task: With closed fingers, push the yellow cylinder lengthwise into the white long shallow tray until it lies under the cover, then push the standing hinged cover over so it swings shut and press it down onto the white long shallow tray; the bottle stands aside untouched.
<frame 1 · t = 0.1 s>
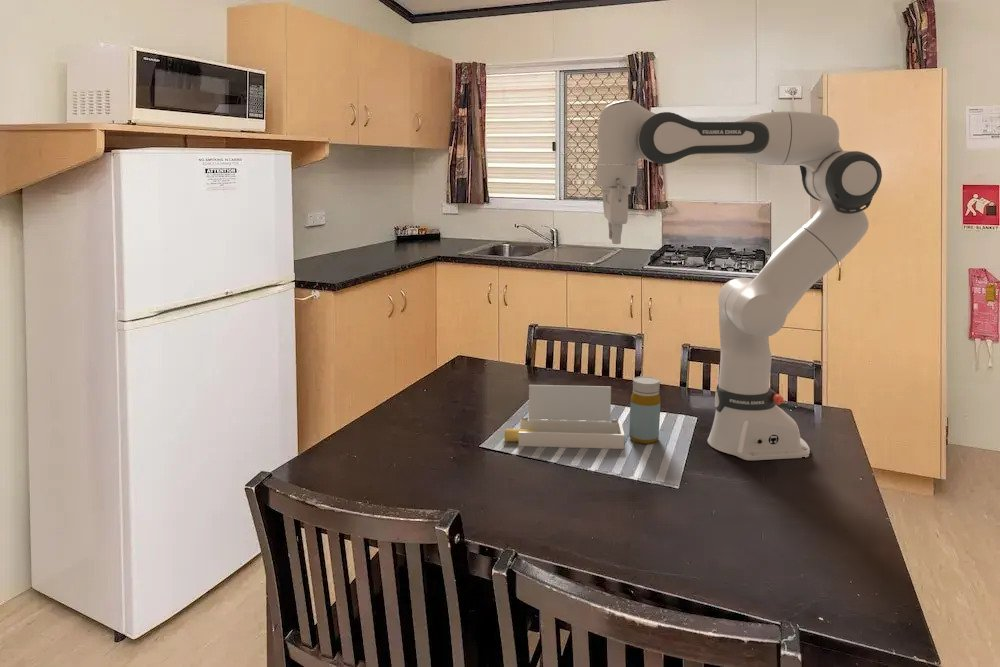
hand: (614, 241, 157), 48 cm above the table, fingers open, 8 cm apart
cover: (569, 402, 173), point 8 cm above the table, hinge at 100.0°
bottle: (643, 439, 170), on the table
white long shallow tray: (569, 440, 169), on the table
yellow cylinder: (519, 441, 169), on the table
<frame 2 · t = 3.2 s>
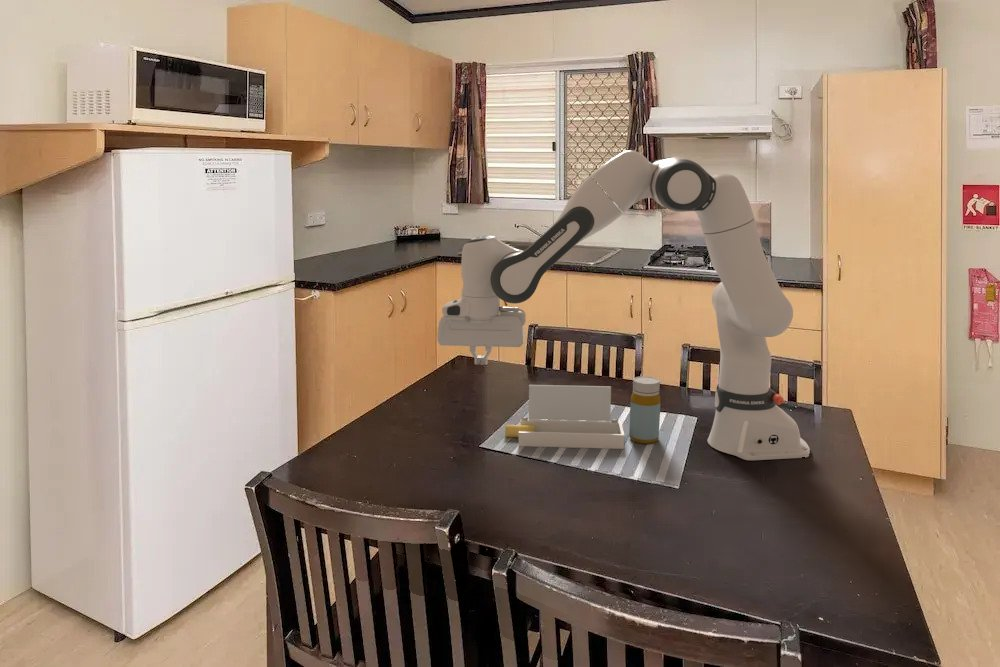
hand: (481, 363, 165), 19 cm above the table, fingers closed
yellow cylinder: (519, 430, 170), point 2 cm above the table, tilted 116°
everything else where it was.
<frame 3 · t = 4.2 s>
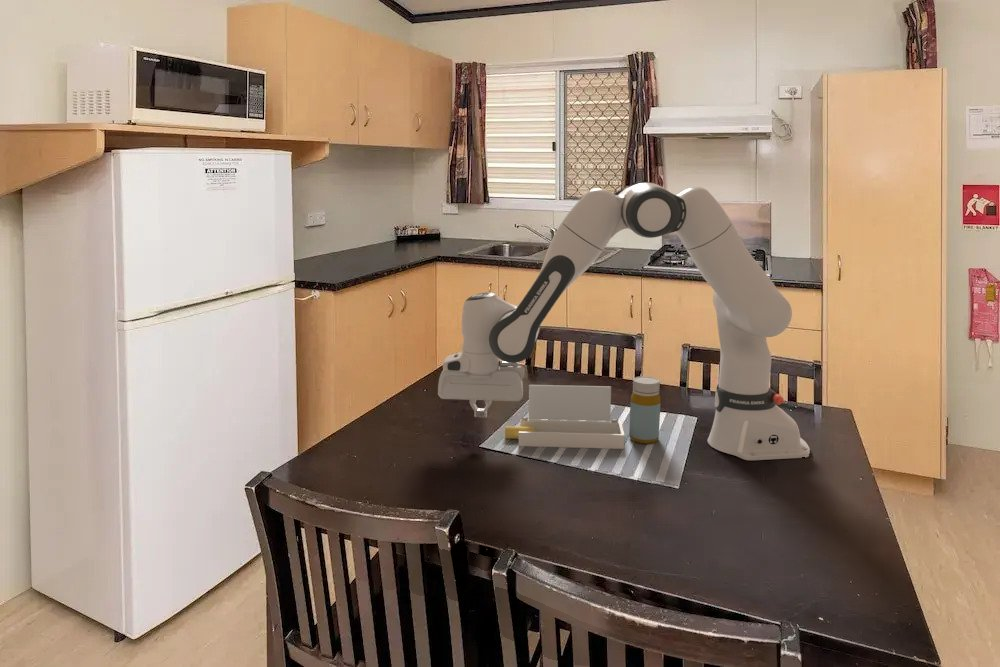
hand: (480, 416, 168), 6 cm above the table, fingers closed
yellow cylinder: (519, 436, 169), point 1 cm above the table, tilted 76°
everything else where it was.
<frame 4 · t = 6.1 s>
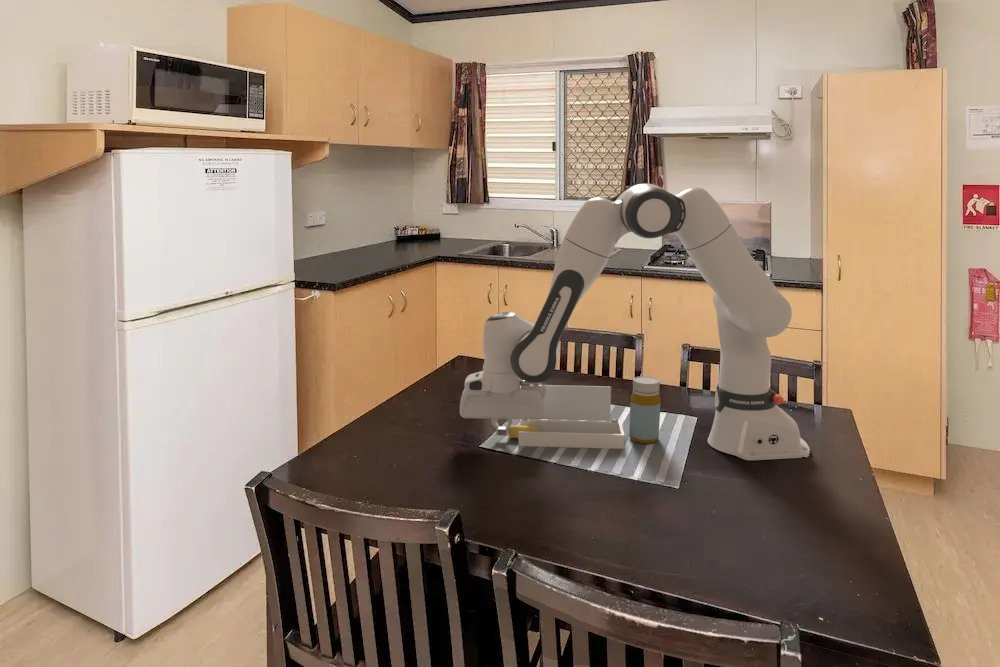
hand: (502, 434, 169), 1 cm above the table, fingers closed
yellow cylinder: (523, 435, 169), point 1 cm above the table, tilted 73°, touching gripper
everything else where it was.
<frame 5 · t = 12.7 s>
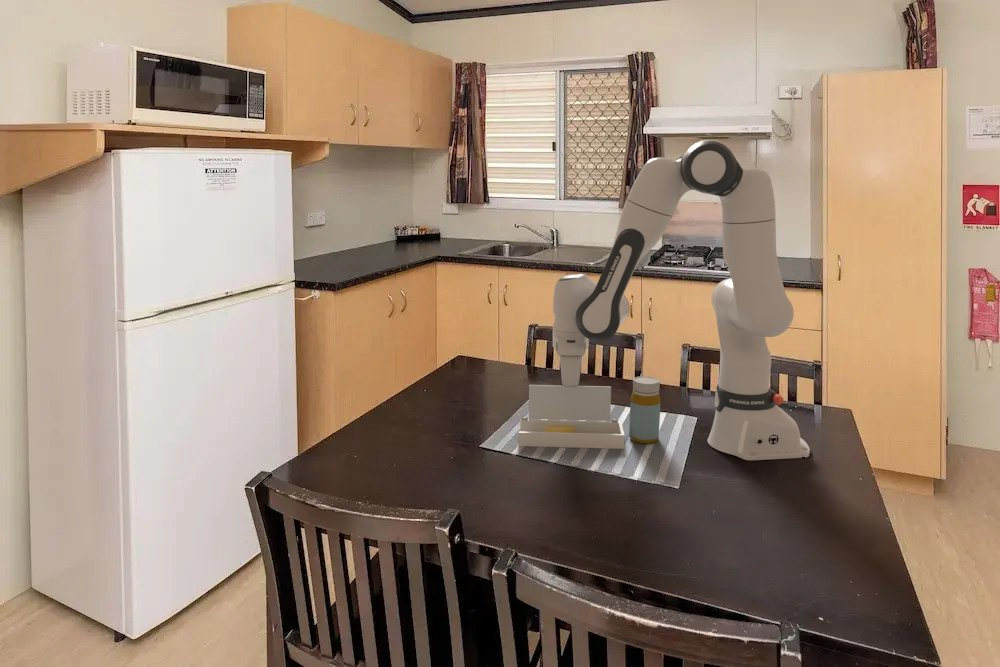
hand: (569, 393, 175), 9 cm above the table, fingers closed
cover: (569, 402, 173), point 8 cm above the table, hinge at 100.0°, touching gripper
yellow cylinder: (561, 436, 169), point 1 cm above the table, tilted 73°
everything else where it was.
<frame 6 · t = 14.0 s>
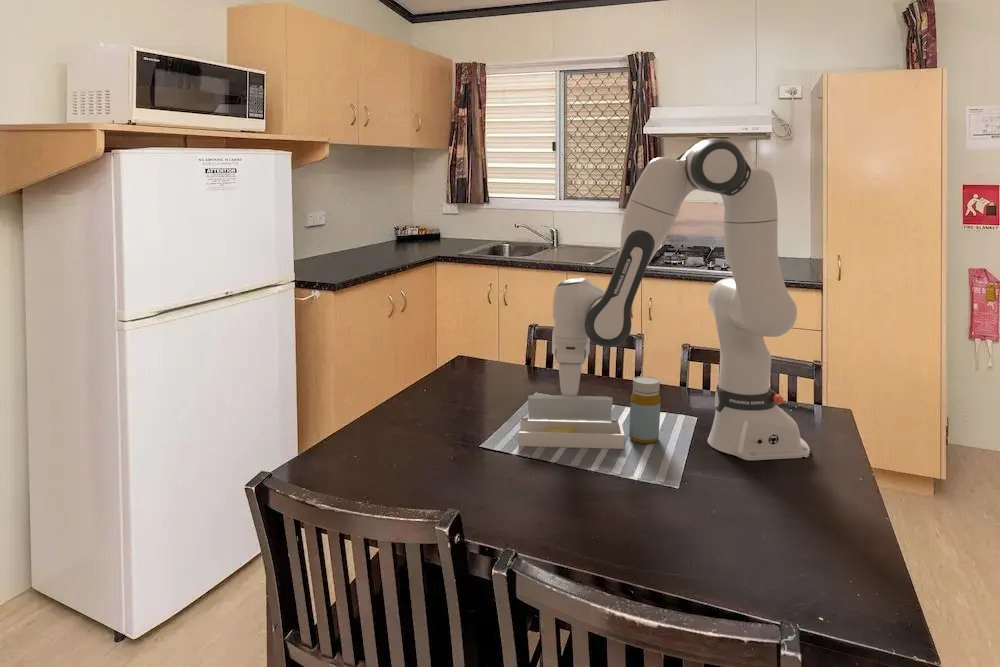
hand: (569, 401, 169), 9 cm above the table, fingers closed, pressing on cover
cover: (569, 407, 170), point 8 cm above the table, hinge at 56.7°, touching gripper
yellow cylinder: (561, 441, 169), resting in white long shallow tray, tilted 25°
everything else where it was.
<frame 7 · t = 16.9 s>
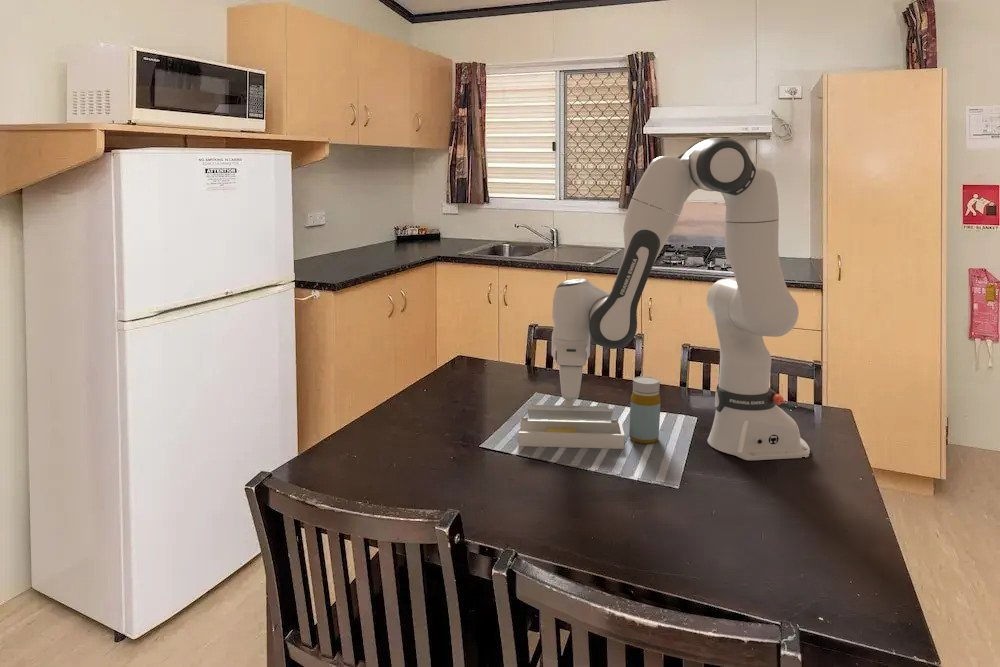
hand: (568, 405, 165), 9 cm above the table, fingers closed
cover: (569, 412, 169), point 7 cm above the table, hinge at 36.0°, touching gripper
yellow cylinder: (561, 440, 169), resting in white long shallow tray, tilted 39°
everything else where it was.
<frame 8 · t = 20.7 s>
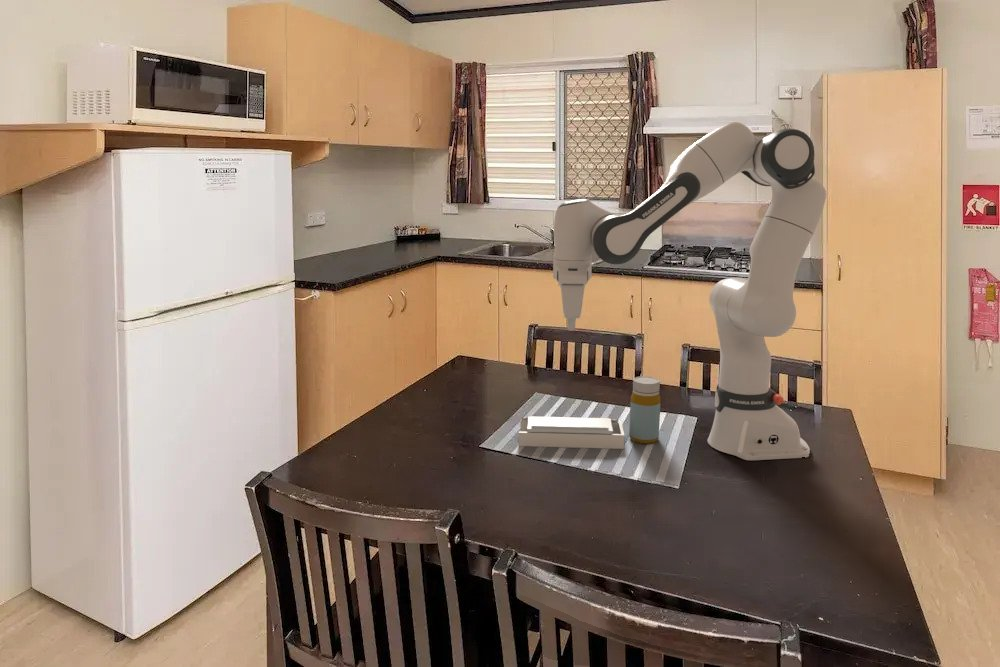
hand: (571, 329, 165), 27 cm above the table, fingers closed
cover: (569, 423, 168), point 4 cm above the table, hinge at 0.1°
yellow cylinder: (561, 441, 169), resting in white long shallow tray
everything else where it was.
at the end: cover at +0° (first picture: +100°); yellow cylinder inside the target area (1.9 cm from its centre), resting in white long shallow tray; bottle tilted 0° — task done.
